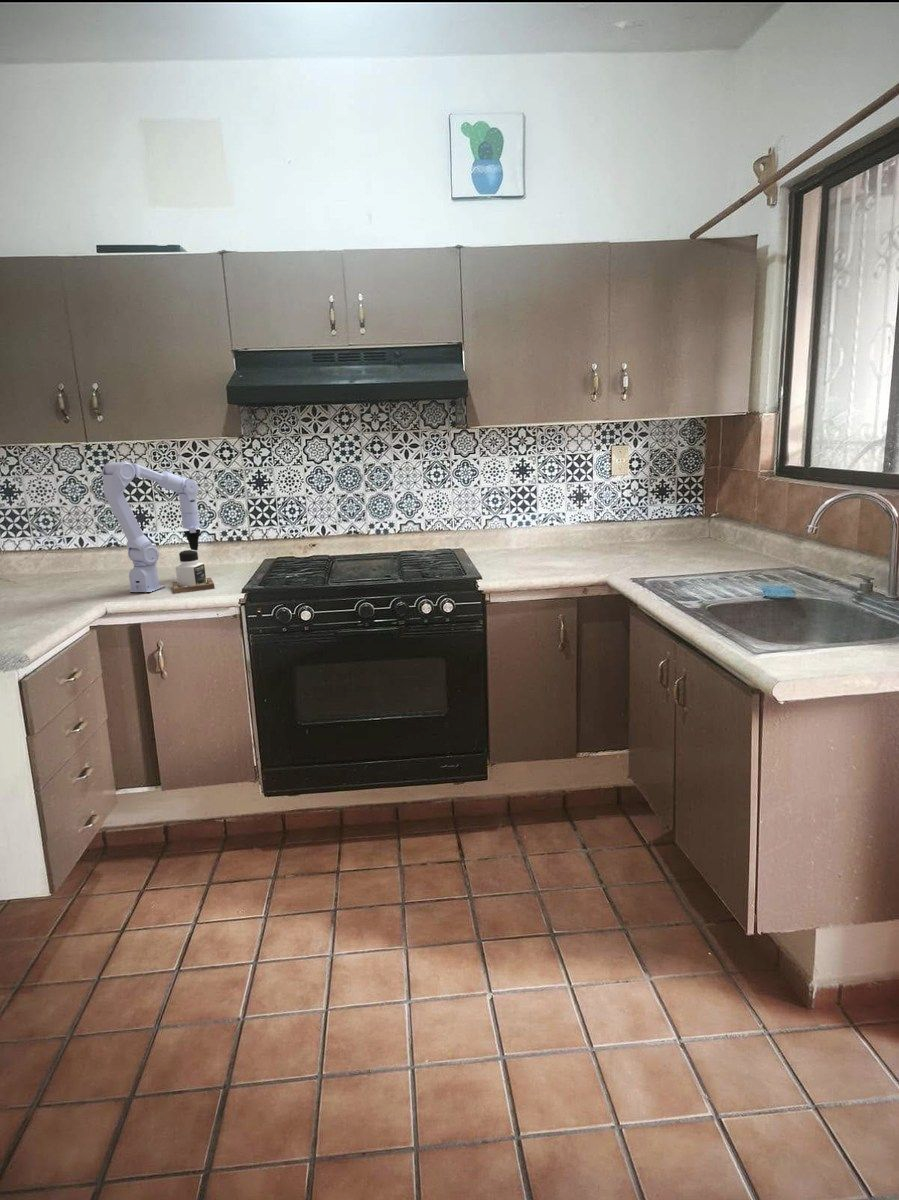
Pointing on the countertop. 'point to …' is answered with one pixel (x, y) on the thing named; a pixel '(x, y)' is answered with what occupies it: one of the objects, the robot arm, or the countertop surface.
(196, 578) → the medicine bottle
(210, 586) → the walnut frame
